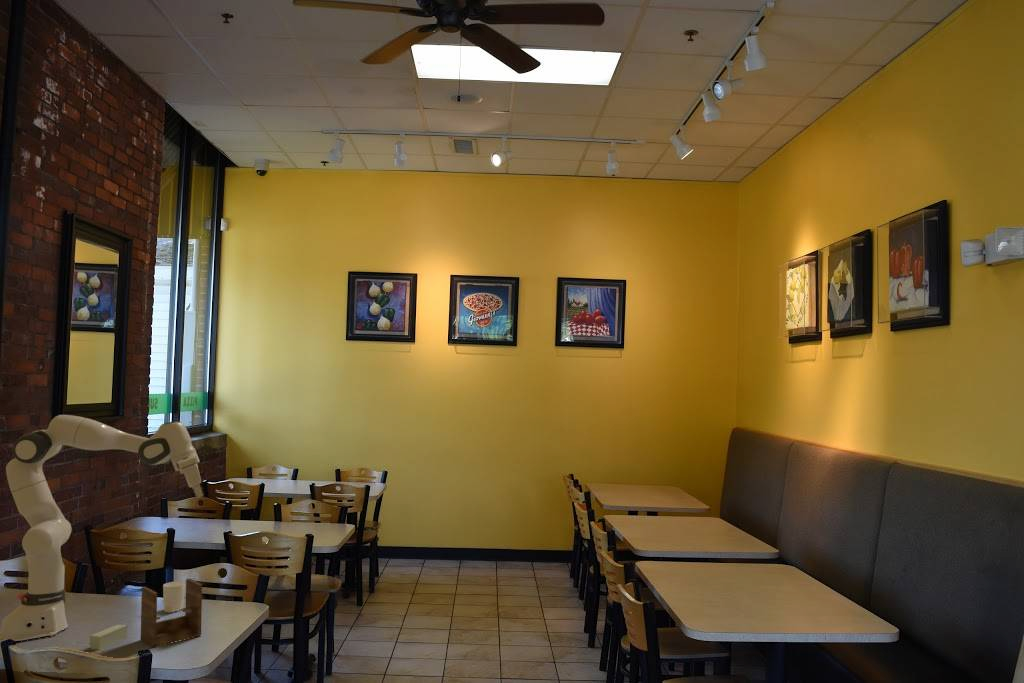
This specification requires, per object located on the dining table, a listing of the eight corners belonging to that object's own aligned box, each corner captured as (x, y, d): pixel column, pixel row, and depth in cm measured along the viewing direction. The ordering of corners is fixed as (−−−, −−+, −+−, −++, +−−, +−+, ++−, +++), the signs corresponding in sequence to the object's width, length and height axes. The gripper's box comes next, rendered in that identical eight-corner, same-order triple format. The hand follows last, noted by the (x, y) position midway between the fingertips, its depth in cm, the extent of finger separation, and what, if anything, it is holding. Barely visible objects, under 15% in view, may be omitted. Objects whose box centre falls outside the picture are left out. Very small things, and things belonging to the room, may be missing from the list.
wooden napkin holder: (152, 648, 253) (153, 593, 254) (140, 640, 261) (141, 587, 261) (201, 636, 264) (202, 584, 265) (188, 628, 272) (189, 578, 273)
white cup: (178, 605, 300) (179, 580, 300) (188, 609, 295) (189, 583, 295) (158, 610, 294) (159, 584, 294) (168, 614, 289) (169, 588, 289)
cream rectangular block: (99, 650, 251) (99, 636, 251) (89, 649, 252) (90, 635, 252) (126, 638, 263) (127, 625, 263) (117, 637, 264) (117, 624, 264)
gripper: (176, 467, 286) (190, 501, 286) (178, 464, 268) (192, 500, 267) (193, 460, 289) (207, 494, 289) (196, 457, 271) (210, 492, 270)
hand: (200, 497), depth 278 cm, fingers open, 8 cm apart
